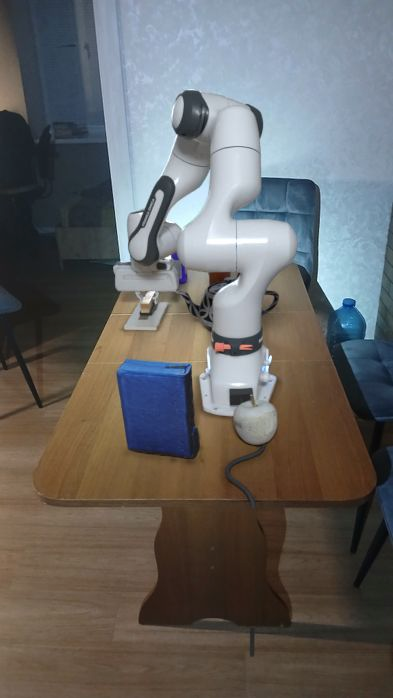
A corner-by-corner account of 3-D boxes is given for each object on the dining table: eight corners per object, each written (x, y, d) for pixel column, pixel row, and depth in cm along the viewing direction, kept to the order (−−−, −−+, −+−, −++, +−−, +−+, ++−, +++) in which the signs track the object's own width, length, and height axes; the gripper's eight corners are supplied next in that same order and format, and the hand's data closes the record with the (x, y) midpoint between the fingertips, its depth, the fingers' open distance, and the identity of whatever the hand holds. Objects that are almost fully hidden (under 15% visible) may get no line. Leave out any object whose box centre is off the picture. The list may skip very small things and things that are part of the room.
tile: (156, 330, 151) (156, 327, 151) (124, 329, 152) (123, 326, 152) (168, 305, 169) (168, 302, 168) (139, 304, 170) (139, 301, 170)
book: (201, 447, 101) (197, 359, 91) (195, 464, 96) (190, 373, 87) (134, 438, 104) (123, 353, 95) (125, 455, 99) (112, 367, 90)
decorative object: (266, 458, 97) (267, 415, 92) (226, 445, 101) (225, 403, 96) (283, 433, 103) (285, 392, 99) (245, 422, 107) (245, 382, 103)
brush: (151, 316, 158) (150, 303, 156) (139, 316, 158) (138, 303, 157) (158, 303, 168) (157, 291, 166) (146, 303, 168) (145, 291, 166)
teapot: (177, 315, 160) (174, 270, 153) (273, 311, 160) (274, 265, 153) (175, 342, 143) (172, 292, 136) (283, 337, 143) (285, 287, 136)
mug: (212, 301, 170) (211, 272, 165) (204, 293, 177) (203, 265, 172) (245, 296, 173) (245, 267, 168) (235, 288, 180) (235, 260, 176)
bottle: (171, 278, 193) (168, 233, 185) (186, 277, 193) (184, 232, 185) (173, 284, 186) (169, 238, 178) (188, 283, 187) (185, 237, 179)
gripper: (109, 265, 154) (115, 306, 161) (175, 264, 152) (177, 307, 158) (115, 258, 160) (120, 299, 166) (178, 258, 157) (181, 299, 164)
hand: (148, 303), depth 162 cm, fingers closed on brush, 2 cm apart
